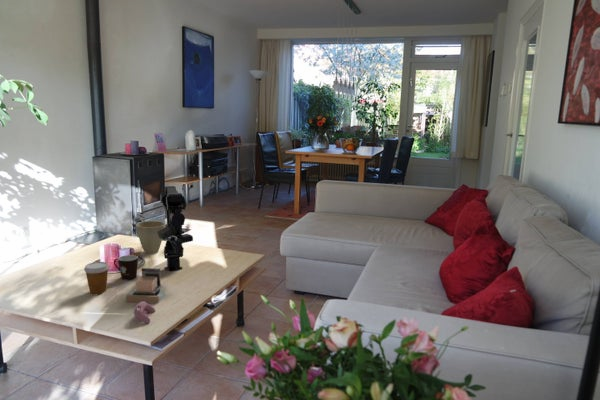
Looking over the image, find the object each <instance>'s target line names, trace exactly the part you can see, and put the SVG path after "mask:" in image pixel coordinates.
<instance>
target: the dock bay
mask: <svg viewBox="0 0 600 400" xmlns="http://www.w3.org/2000/svg"><path fill="white" fill-rule="evenodd" d="M136 290H137V288H134V289H133V290H132V291H130V293H129V294H126V303H140V302H146V303H148V304H152V303H153V304H159V303H160V301H161V300H162V299H163V298H164V297H165V295H166V291H165V290H164V289H163V290H160V292H159V293H157V295H155V296H150V295H134V292H135V291H136Z"/></svg>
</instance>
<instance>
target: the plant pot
mask: <svg viewBox="0 0 600 400" xmlns="http://www.w3.org/2000/svg"><path fill="white" fill-rule="evenodd" d="M135 225H136V226H135V227H136V230H137V237H138V239H139V242H140V243H139V244H141V247H142V250H143V251H144V254H148V255H150V254H152V255H153V254H157V253H159V250H160V248H161V244H162V242H163V239H160V238H159V236H158V233H157V232H158V231H159V230H161V229H163V228H165V227H166V226H165V225H166V224H165V222H163V221H160V220H159V221H158V220H149V221H148V220H147V221H141V222H140V221H139V222H138V223H136V224H135Z"/></svg>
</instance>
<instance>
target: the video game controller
mask: <svg viewBox="0 0 600 400" xmlns="http://www.w3.org/2000/svg"><path fill="white" fill-rule="evenodd" d="M134 308H135V309H134V311H133V314H134V317H135V318H136V319H138V320H139V321H141V322H142V323H143V324H144V323H145V324H150V322H151V319H150V318H149V316H148V315H147V314H148V313H151V314H152V313H155V312H156V308H155V307H154V306H152V305H151V304H150V303H146V302H137V304H136V306H135V307H134Z"/></svg>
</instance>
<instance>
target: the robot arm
mask: <svg viewBox="0 0 600 400" xmlns="http://www.w3.org/2000/svg"><path fill="white" fill-rule="evenodd" d="M159 200H160V203H161V207H162V208H163V210H164V211H165V215H166V216H165V217H166V226H165V227H164V228H163V229H161V230H159V231H158V232H157V233H158V236H159V238H160V239H162V241H165V240H166V241H165V245H164V246H163V247H164V249H163V257H164V259H166V266H165V267H164V269H165V270H167V271H169V272H175V271H178V270H182V269H183V267H182V266H181V261H180V260H181V258H183V257H184V250H185V248H184V247H183V244H185V243H190V242H193V241H194V236H193V235H192V234H188V233H185V231H184V230H183V226H184V225H185V222H186V217H185V215H184V213H183V211H184V210H186V207H187V203H186V202H187V201H186V197H185V195H183V193H181V192H178V191H177V188H176V186H174V185H167V186H164V189H163V190H162V191H161V192H160V199H159Z"/></svg>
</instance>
